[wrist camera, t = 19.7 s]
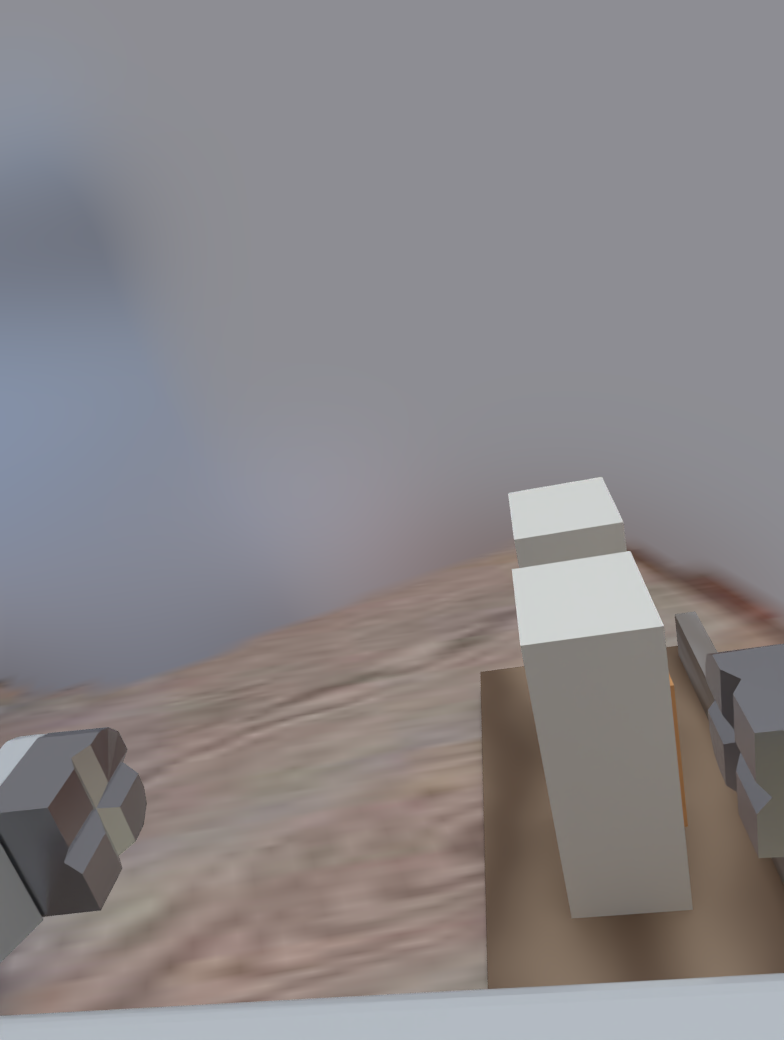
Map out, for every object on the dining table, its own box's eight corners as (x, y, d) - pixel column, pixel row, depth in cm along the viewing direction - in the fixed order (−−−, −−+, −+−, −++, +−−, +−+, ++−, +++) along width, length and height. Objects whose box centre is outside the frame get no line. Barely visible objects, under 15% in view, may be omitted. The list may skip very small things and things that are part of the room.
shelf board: (495, 1069, 28) (474, 991, 27) (484, 690, 50) (472, 634, 49) (891, 1054, 26) (895, 967, 24) (698, 662, 48) (693, 602, 46)
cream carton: (571, 918, 32) (520, 645, 27) (556, 812, 37) (511, 569, 32) (698, 909, 31) (671, 625, 26) (664, 802, 36) (636, 550, 31)
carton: (556, 770, 40) (514, 539, 35) (545, 701, 45) (508, 493, 40) (656, 760, 39) (628, 521, 34) (633, 691, 45) (606, 475, 39)
